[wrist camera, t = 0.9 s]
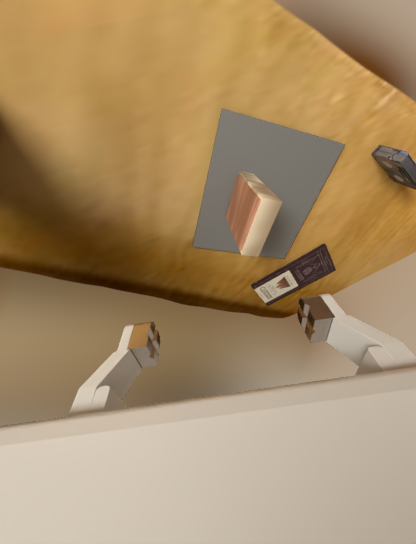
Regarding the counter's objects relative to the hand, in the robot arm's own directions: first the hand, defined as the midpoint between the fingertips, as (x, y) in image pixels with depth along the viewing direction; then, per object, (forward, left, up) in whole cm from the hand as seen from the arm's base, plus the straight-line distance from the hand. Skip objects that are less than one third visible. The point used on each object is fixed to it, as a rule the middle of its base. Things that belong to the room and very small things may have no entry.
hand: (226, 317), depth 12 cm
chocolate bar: (+27, -18, -30) cm, 44 cm away
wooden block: (+8, -2, -28) cm, 29 cm away
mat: (+12, -2, -29) cm, 31 cm away
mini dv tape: (+32, +8, -29) cm, 44 cm away
